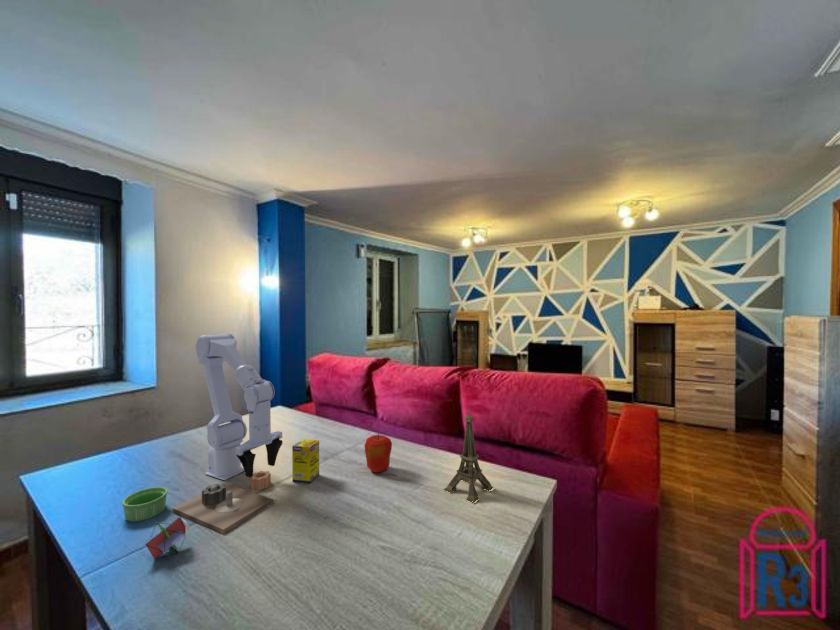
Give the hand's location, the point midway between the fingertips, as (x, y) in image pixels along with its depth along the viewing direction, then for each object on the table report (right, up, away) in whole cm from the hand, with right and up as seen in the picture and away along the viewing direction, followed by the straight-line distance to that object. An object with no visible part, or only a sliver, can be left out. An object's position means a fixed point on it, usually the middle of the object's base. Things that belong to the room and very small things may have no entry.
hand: (260, 470), depth 101 cm
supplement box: (+12, -5, +4) cm, 14 cm away
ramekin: (-23, -5, -13) cm, 27 cm away
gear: (0, -4, 0) cm, 4 cm away
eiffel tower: (+61, -5, -3) cm, 61 cm away
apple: (+33, -4, +9) cm, 35 cm away
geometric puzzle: (-7, -5, -28) cm, 29 cm away
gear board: (-4, -5, -11) cm, 13 cm away
